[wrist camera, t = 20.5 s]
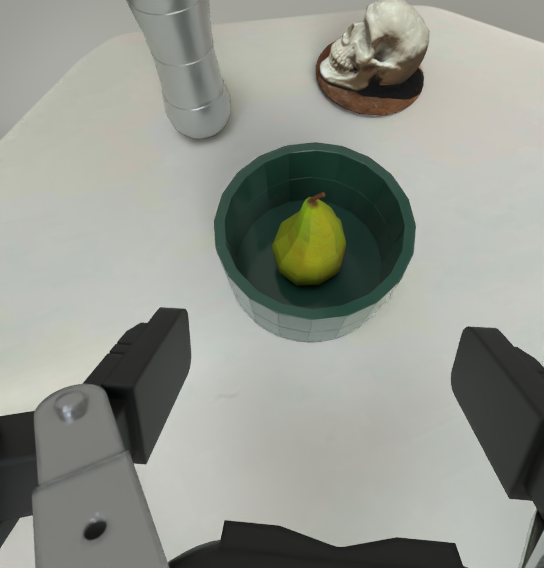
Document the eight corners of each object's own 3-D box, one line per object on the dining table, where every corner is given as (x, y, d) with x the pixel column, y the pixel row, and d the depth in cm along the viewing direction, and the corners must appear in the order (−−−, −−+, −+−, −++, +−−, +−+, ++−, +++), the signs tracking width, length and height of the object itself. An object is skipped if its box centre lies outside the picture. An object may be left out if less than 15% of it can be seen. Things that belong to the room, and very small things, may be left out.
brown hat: (312, 115, 39) (319, -7, 34) (314, 111, 48) (319, 14, 43) (431, 116, 38) (454, -10, 33) (410, 112, 47) (425, 12, 42)
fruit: (298, 220, 35) (304, 125, 24) (355, 254, 34) (388, 170, 23) (259, 271, 34) (244, 195, 22) (317, 309, 32) (332, 248, 21)
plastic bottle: (173, 103, 42) (80, -155, 23) (233, 98, 42) (188, -166, 23) (172, 149, 40) (68, -96, 21) (235, 144, 40) (188, -108, 21)
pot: (235, 351, 32) (220, 330, 25) (224, 205, 37) (210, 154, 30) (405, 332, 32) (438, 305, 25) (371, 188, 37) (390, 133, 30)
